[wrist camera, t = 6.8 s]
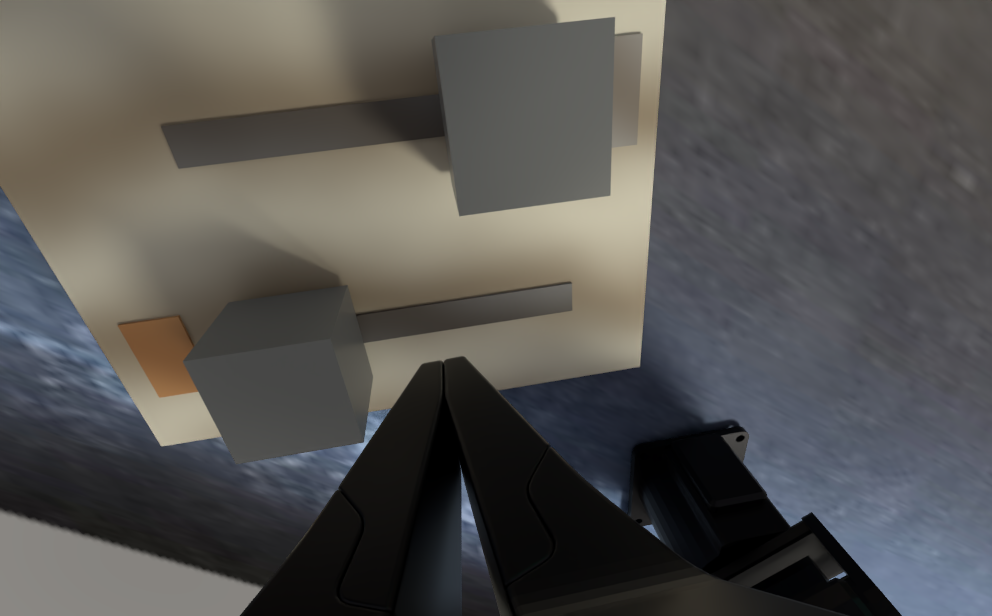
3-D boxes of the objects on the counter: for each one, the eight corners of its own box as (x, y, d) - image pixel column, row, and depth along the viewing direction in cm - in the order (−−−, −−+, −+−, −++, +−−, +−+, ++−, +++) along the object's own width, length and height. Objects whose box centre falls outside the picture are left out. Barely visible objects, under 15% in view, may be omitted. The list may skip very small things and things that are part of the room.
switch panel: (622, 342, 22) (640, 368, 20) (183, 413, 20) (160, 448, 19) (658, -417, 11) (704, -509, 9) (-265, -388, 10) (-424, -491, 8)
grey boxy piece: (373, 376, 18) (363, 442, 15) (267, 393, 18) (236, 463, 15) (347, 285, 16) (330, 338, 13) (228, 302, 16) (182, 361, 13)
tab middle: (572, 167, 15) (610, 195, 12) (451, 183, 15) (459, 216, 12) (570, 25, 13) (615, 16, 10) (431, 40, 13) (434, 36, 10)
